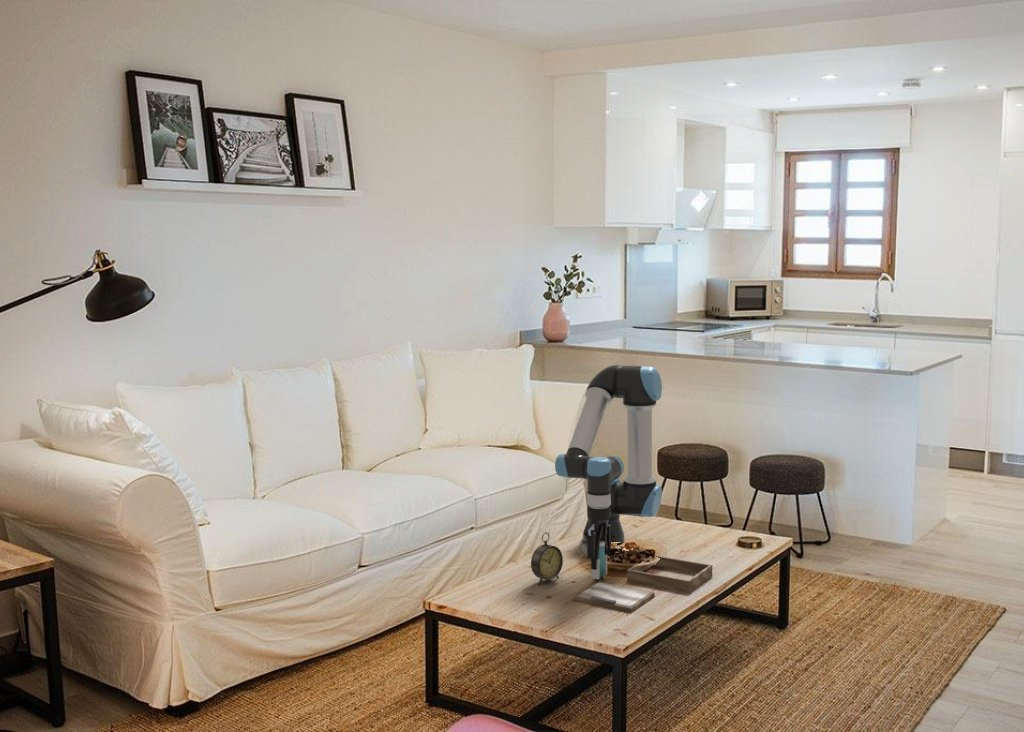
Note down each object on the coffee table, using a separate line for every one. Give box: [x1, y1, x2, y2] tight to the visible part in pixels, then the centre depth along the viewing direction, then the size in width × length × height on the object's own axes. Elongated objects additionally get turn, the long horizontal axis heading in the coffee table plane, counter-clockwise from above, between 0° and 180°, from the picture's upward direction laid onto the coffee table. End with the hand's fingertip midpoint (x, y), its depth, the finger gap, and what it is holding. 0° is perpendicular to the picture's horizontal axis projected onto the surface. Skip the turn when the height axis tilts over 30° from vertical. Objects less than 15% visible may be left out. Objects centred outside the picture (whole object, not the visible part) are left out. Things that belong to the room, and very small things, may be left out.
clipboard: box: [572, 581, 656, 613], centre depth 319 cm, size 16×20×2 cm
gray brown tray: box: [626, 555, 713, 593], centre depth 337 cm, size 19×22×4 cm
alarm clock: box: [530, 531, 564, 586], centre depth 335 cm, size 11×5×16 cm, turn 133°
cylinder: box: [594, 541, 606, 582], centre depth 336 cm, size 4×4×12 cm
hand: (599, 575), depth 336 cm, fingers open, 4 cm apart
